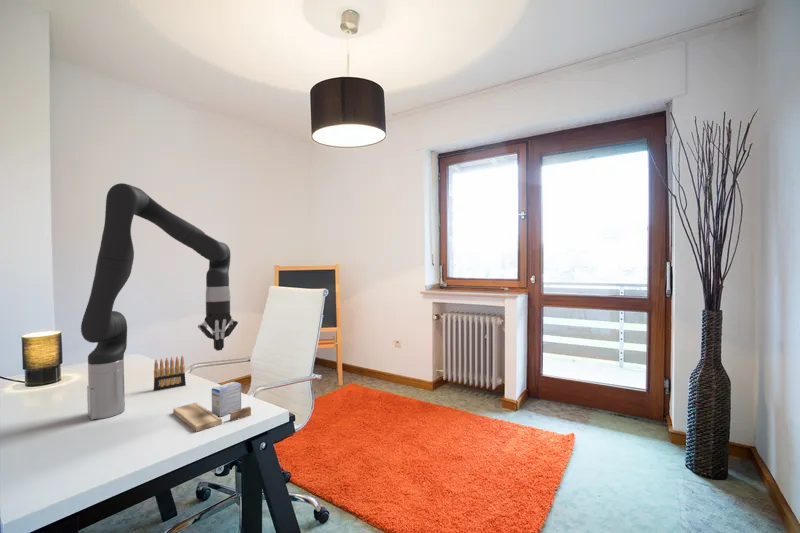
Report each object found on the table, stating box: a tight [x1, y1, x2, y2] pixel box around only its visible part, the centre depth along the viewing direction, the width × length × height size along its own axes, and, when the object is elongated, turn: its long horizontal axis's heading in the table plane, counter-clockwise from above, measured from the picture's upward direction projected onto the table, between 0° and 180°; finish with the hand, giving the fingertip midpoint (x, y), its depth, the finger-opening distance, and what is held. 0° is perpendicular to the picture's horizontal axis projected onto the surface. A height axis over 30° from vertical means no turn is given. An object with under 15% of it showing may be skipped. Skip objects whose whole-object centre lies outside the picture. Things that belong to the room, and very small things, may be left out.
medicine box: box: [211, 381, 242, 418], centre depth 122 cm, size 8×4×9 cm, turn 151°
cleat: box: [229, 406, 252, 421], centre depth 117 cm, size 6×1×2 cm, turn 137°
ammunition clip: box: [153, 355, 187, 392], centre depth 148 cm, size 11×2×12 cm, turn 127°
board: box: [172, 402, 223, 433], centre depth 117 cm, size 7×21×2 cm, turn 47°
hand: (218, 350), depth 128 cm, fingers closed
